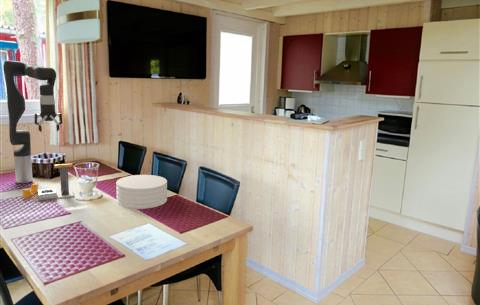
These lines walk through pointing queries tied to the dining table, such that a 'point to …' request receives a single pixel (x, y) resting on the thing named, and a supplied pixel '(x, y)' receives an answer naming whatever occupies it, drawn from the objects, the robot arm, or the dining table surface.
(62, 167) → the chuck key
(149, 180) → the plate stack
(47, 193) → the white flat block
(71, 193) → the rest pad
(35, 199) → the pale flat board
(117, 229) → the dining table surface
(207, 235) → the dining table surface
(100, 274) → the dining table surface
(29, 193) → the orange irregular block
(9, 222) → the dining table surface
